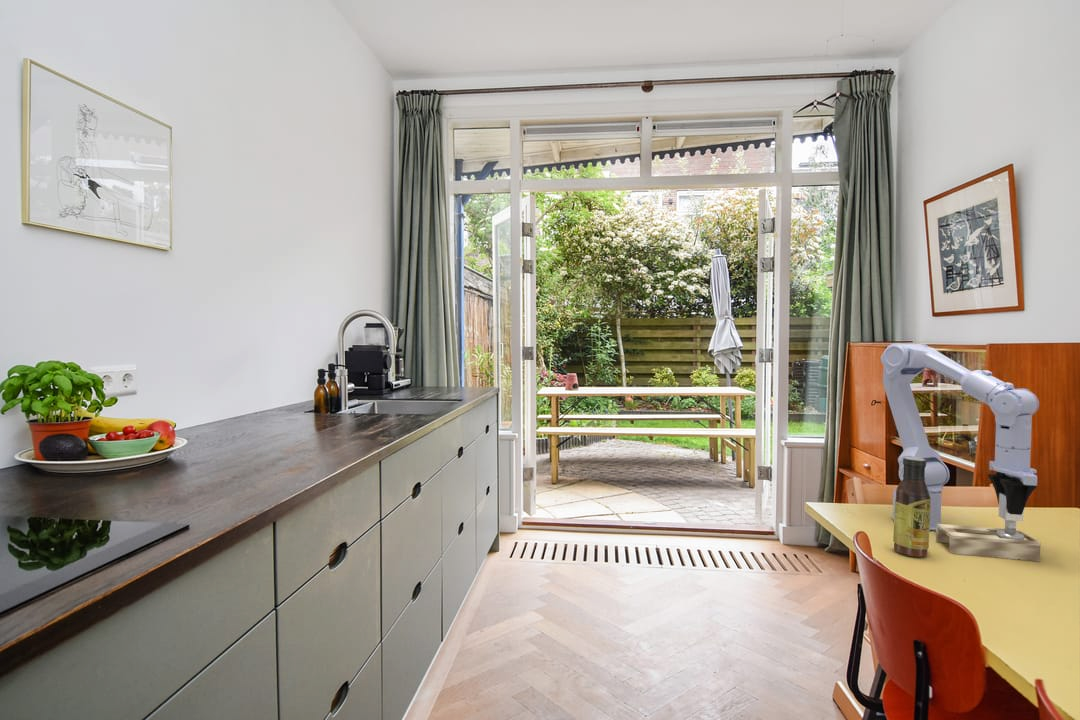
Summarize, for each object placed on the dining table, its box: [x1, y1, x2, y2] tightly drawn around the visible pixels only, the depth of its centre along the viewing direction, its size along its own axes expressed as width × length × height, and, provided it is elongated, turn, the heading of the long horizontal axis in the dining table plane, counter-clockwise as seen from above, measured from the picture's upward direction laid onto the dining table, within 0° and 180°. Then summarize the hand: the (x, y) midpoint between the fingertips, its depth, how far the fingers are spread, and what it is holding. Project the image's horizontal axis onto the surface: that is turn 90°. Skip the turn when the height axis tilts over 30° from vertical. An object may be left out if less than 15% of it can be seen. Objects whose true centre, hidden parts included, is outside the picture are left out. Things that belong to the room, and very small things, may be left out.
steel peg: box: [997, 493, 1025, 540], centre depth 119 cm, size 4×4×9 cm
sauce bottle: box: [892, 457, 931, 558], centre depth 119 cm, size 6×6×20 cm
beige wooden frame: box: [935, 523, 1042, 562], centre depth 121 cm, size 16×8×4 cm, turn 74°
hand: (1010, 511), depth 119 cm, fingers closed on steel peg, 3 cm apart
